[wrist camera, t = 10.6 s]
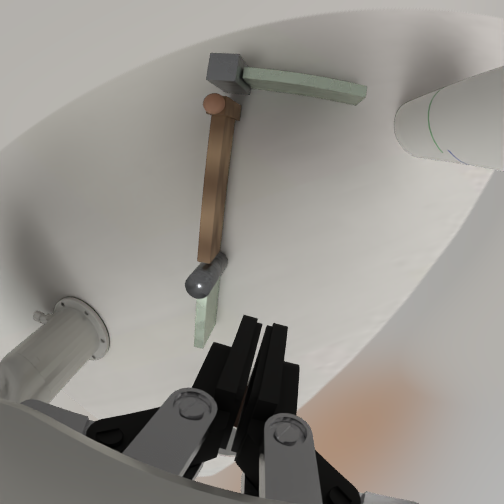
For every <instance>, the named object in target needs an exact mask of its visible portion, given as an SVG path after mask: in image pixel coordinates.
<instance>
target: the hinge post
mask: <svg viewBox="0 0 504 504" xmlns="http://www.w3.org/2000/svg"><path fill="white" fill-rule="evenodd" d="M227 264H228V259H227V257H226V255H225V254H224V253H222V252H221V251H219V253H218V254H217V255H216V256H215V258H214V259H213V260H212V261H211V263H210V264H209V263H203V262H201V263H200V265H199V266H198V267H197V268H196V269H195V270H194V271H193V273H192V274H191V275H190V276H189V277H188V278H187V280H186V282H185V288H186V290H187V292H188V293H189V295H191V296H192V297H194V298H196V299H197V302H196V318H195V337H194V347H198V348H202V349H203V348H204V346H205V344H206V342H207V340H208V338H209V336H210V334H211V332H212V330H213V328H214V326H215V323H216V312H217V302H218V292H219V282H220V276H221V274H222V273H223V271H224V270H225V268H226V267H227Z"/></svg>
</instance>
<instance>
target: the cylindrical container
mask: <svg viewBox="0 0 504 504" xmlns="http://www.w3.org/2000/svg"><path fill="white" fill-rule="evenodd" d="M394 130H395V135H396V137H397V140H398V142H399V143H400V145H401V146H402V148H403V149H404V150H405V151H406V152H408V153H409V154H411V155H412V156H415V157H417V158H424V159H431V160H439V161H446V162H453V163H460V164H466V165H472V166H478V167H483V168H489V169H494V170H499V171H504V66H502V67H499V68H496V69H493V70H490V71H487V72H484V73H482V74H479V75H476V76H473V77H470V78H468V79H465V80H462V81H460V82H457V83H454V84H452V85H449V86H446V87H444V88H441V89H439V90H436V91H434V92H431V93H429V94H426V95H424V96H421V97H419V98H416V99H414V100H411V101H409V102H407V103H405V104H404V105H402V106H401V107H400V109H399V110H398V112H397V114H396V116H395V121H394Z"/></svg>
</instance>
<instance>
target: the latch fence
mask: <svg viewBox="0 0 504 504" xmlns="http://www.w3.org/2000/svg"><path fill="white" fill-rule="evenodd" d="M206 80H208V81H209V82H211V83H212V84H214V85H215V86H217V87H218V88H220V89H221V90H223V91H224V92H226V93H232V94H244V95H250V90H251V88H252V89H258V90H267V91H276V92H283V93H290V94H297V95H303V96H310V97H315V98H321V99H326V100H332V101H337V102H342V103H346V104H351V105H355V106H356V105H357V104H358V103H360V102H361V101H362V100H363V99H365V98H366V91H367V86H364V85H360V84H355V83H351V82H346V81H341V80H336V79H331V78H326V77H320V76H314V75H308V74H302V73H295V72H288V71H280V70H271V69H262V68H251V67H248V65H247V64H246V62H245V61H244V60H243V58H242V57H241V56H240V54H226V53H210V59H209V65H208V71H207V77H206Z"/></svg>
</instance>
